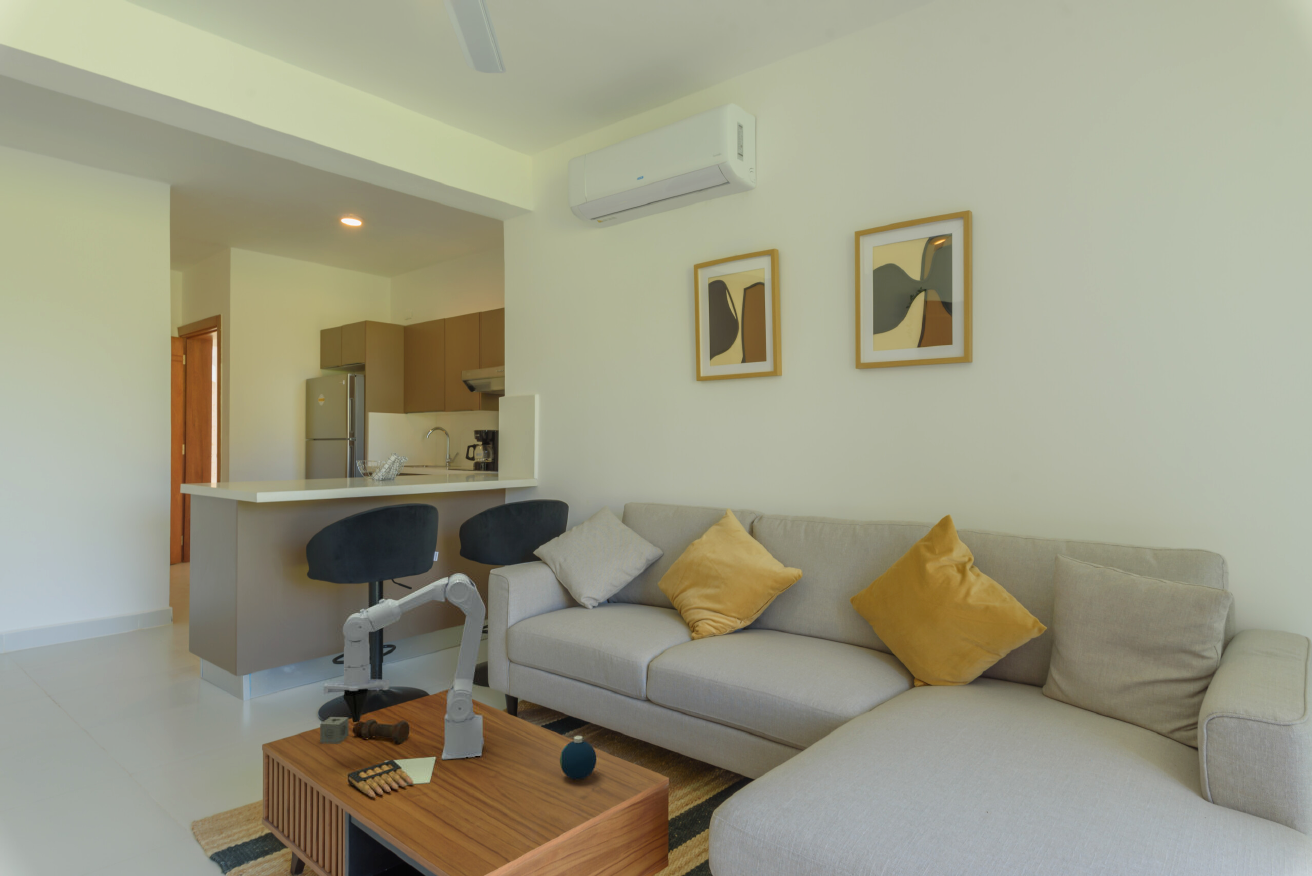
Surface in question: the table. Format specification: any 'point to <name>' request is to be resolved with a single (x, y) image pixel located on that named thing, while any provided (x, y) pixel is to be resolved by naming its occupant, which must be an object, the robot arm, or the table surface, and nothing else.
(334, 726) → the dice cube
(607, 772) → the table surface
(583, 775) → the christmas ornament
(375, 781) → the ammunition clip
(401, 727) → the bolt
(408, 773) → the mat
